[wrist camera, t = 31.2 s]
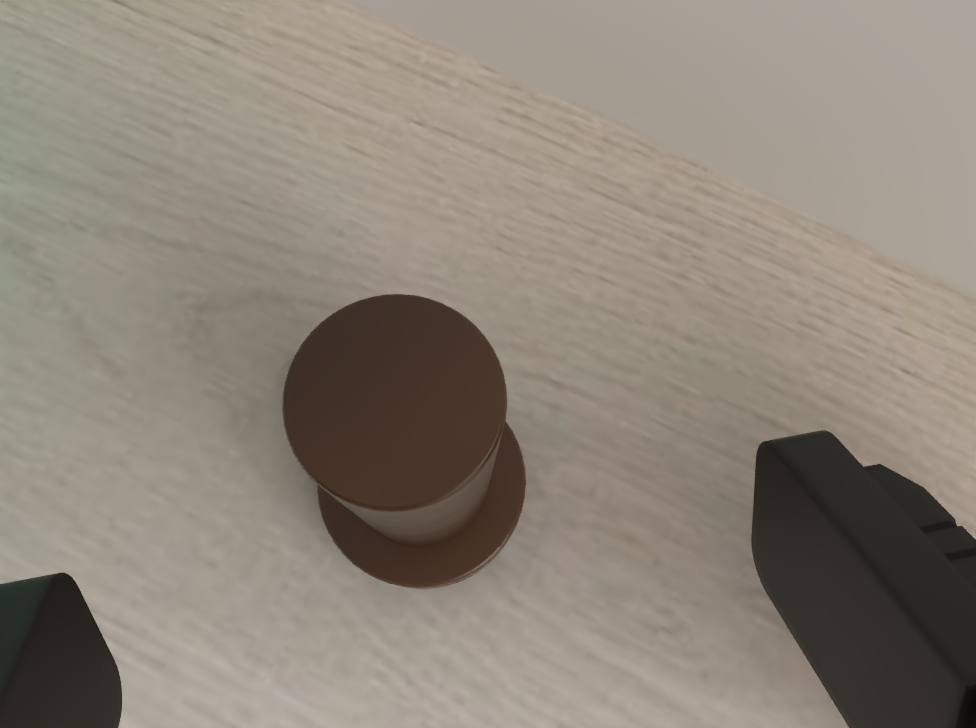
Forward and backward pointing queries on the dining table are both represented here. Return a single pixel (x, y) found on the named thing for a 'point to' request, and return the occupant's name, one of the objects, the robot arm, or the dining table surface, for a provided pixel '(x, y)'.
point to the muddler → (406, 439)
